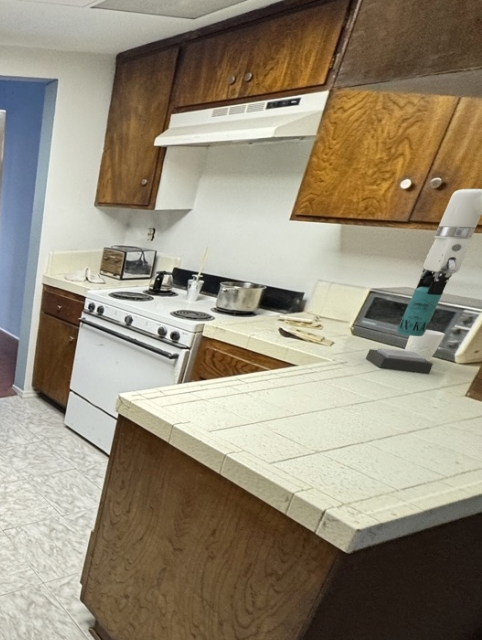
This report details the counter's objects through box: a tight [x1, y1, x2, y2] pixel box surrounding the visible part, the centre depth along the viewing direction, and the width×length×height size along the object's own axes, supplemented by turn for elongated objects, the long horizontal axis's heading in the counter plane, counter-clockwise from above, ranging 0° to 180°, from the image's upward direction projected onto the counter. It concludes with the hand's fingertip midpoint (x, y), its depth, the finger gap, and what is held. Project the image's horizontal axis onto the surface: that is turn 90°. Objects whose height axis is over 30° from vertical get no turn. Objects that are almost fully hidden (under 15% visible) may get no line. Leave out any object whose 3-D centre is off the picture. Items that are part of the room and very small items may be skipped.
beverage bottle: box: [396, 276, 444, 336], centre depth 150 cm, size 6×7×20 cm
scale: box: [365, 348, 434, 375], centre depth 157 cm, size 12×12×4 cm
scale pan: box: [376, 347, 426, 362], centre depth 156 cm, size 9×9×2 cm
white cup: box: [404, 329, 446, 362], centre depth 163 cm, size 8×8×10 cm
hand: (428, 292), depth 148 cm, fingers closed on beverage bottle, 6 cm apart
